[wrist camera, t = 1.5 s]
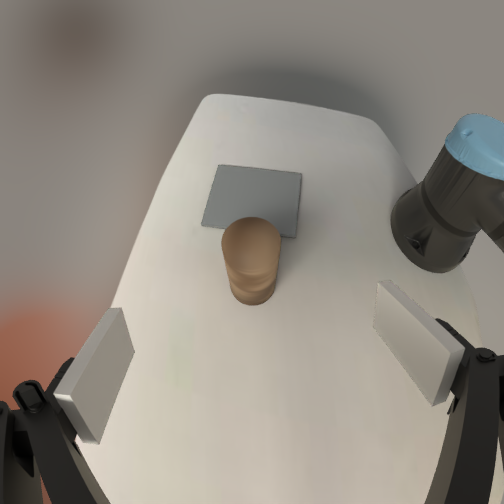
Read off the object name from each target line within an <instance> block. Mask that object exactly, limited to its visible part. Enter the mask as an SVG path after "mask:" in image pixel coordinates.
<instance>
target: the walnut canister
mask: <svg viewBox="0 0 504 504" xmlns="http://www.w3.org/2000/svg"><path fill="white" fill-rule="evenodd" d="M280 249H281V238H280V234H279V232H278V230H277V229H276V228H275V226H274V225H273V224H271V223H270V222H268V221H267V220H265V219H262V218H258V217H245V218H241V219H238V220H236V221H235V222H233V223H232V224H230V225H229V226H228V227H227V229H226V230H225V232H224V234H223V237H222V251H223V255H224V260H225V264H226V269H227V273H228V278H229V282H230V287H231V291H232V293H233V295H234V297H235V298H236V299H237V300H238V301H240V302H241V303H243V304H246V305H259V304H262V303H264V302H266V301H267V300H268V299H269V298H270V297H271V296H272V294H273V292H274V288H275V282H276V276H277V269H278V262H279V256H280Z"/></svg>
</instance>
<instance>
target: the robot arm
mask: <svg viewBox="0 0 504 504" xmlns="http://www.w3.org/2000/svg"><path fill="white" fill-rule="evenodd" d="M391 228H392V232H393V235H394V238H395V240H396V242H397V244H398V246H399V248H400V249H401V250H402V252H403V253H404V254H405V255H406V257H407V258H408V259H409V260H411V261H412V262H413V263H414V264H416V265H417V266H419V267H420V268H422V269H424V270H427V271H430V272H434V273H445V272H448V271H451V270H453V269H454V268H455V267H457V266H458V265H459V264H460V263H461V262H462V261H463V260H464V259H465V258H466V256H467V254H468V252H469V249H470V246H471V245H472V243H473V240H474V238H475V236H476V234H477V233H478V232H479V231H480V230H481V229H482V230H483V231H484V232H485V233H486V234H487V235H488V236H489V237H490V238H491V239H492V240H493V241H494V242H495V244H496V245H497V246H498V247H499V248H500V249H501V250H502V251H503V252H504V123H502V122H501V121H499V120H496V119H495V118H493V117H490V116H487V115H482V114H477V113H476V114H475V113H473V114H467V115H465V116H463V117H462V118H460V120H459V121H458V122H457V124H456V125H455V127H454V129H453V130H452V132H451V133H449V134H448V135H447V137H446V140H445V144H444V146H443V148H442V150H441V152H440V153H439V155H438V157H437V158H436V160H435V162H434V163H433V165H432V167H431V169H430V170H429V172H428V173H427V175H426V176H425V178H424V180H423V181H422V182H420V183H419V184H418V185H417V186H416V187H414V188H413V189H410V190H408V191H407V192H405V193H404V194H403V195H402V196H401V197H400V198H399V200H398V202H397V203H396V205H395V207H394V208H393V211H392V215H391ZM373 328H374V329H375V330H376V332H377V333H378V334H379V336H380V337H381V338H382V339H383V341H384V342H385V343H386V345H387V346H388V347H389V349H390V350H391V351H392V353H393V354H394V355H395V357H396V358H397V359H398V361H399V362H400V363H401V365H402V366H403V367H404V369H405V370H406V372H407V373H408V374H409V376H410V377H411V378H412V380H413V381H414V382H415V384H416V385H417V387H418V388H419V389H420V391H421V392H422V394H423V395H424V396H425V398H426V399H427V401H428V402H429V403H430V405H431V406H434V405H437V404H440V403H442V402H445V401H446V400H447V397H448V395H449V392H450V390H451V392H452V393H453V394H454V395H455V396H454V399H453V401H452V403H451V406H450V408H449V410H448V412H447V414H450V416H449V421H448V426H447V430H446V435H445V439H444V443H443V447H442V451H441V454H440V458H439V461H438V465H437V468H436V472H435V475H434V478H433V481H432V484H431V487H430V490H429V493H428V496H427V498H426V501H425V504H488V502H489V497H490V492H491V487H492V481H493V475H494V468H495V461H496V452H497V442H498V437H499V443H500V449H501V455H502V462H503V470H504V355H500V356H497V355H496V354H495V353H494V352H493V351H491V350H490V349H487V348H476V349H475V348H474V347H473V346H472V345H471V344H470V343H469V342H468V341H467V340H466V339H465V338H464V337H463V336H461V335H460V334H459V333H458V332H457V331H456V330H454V328H453V327H451V326H450V325H449V324H448V323H447V322H445V321H443V320H441V319H439V318H437V319H434V318H433V317H432V316H430V315H429V314H428V313H427V312H426V311H425V310H424V309H423V308H422V307H420V306H419V305H418V304H417V303H416V302H415V301H414V300H413V299H411V298H410V297H409V296H408V295H407V294H406V293H405V292H403V291H402V290H401V289H400V288H399V287H398V286H397V285H395V284H394V283H393V282H392V281H391V280H388V281H381V282H378V285H377V296H376V306H375V315H374V324H373ZM134 353H135V351H134V348H133V345H132V342H131V338H130V335H129V332H128V328H127V325H126V321H125V318H124V314H123V311H122V308H108V310H107V311H106V313H105V314H104V316H103V317H102V318H101V320H100V321H99V323H98V324H97V326H96V327H95V329H94V330H93V332H92V333H91V335H90V336H89V338H88V339H87V341H86V342H85V344H84V345H83V347H82V348H81V350H80V351H79V353H78V354H77V356H76V357H75V358H70V359H68V360H67V361H66V362H65V363H63V365H62V366H61V368H60V369H59V371H58V373H57V374H56V375H55V378H54V379H53V380H52V382H51V383H50V385H49V386H48V388H47V390H46V391H45V392H44V390H43V389H42V387H41V385H40V383H39V382H37V381H35V380H28V381H24V382H22V383H21V384H19V385H18V386H17V387H16V388H15V390H14V391H13V398H14V399H15V401H16V402H17V404H18V406H19V407H20V409H19V410H11V409H10V408H9V406H8V405H7V403H6V402H3V401H0V504H43V498H42V489H41V479H40V474H41V477H42V480H43V483H44V485H45V488H46V490H47V493H48V495H49V498H50V500H51V502H52V504H110V502H109V500H108V499H107V497H106V496H105V494H104V492H103V491H102V489H101V487H100V486H99V484H98V482H97V481H96V479H95V477H94V475H93V474H92V472H91V470H90V468H89V466H88V465H87V463H86V461H85V459H84V457H83V455H82V453H81V451H80V449H79V447H78V445H77V444H76V442H75V441H74V440H75V437H76V435H77V434H78V436H79V437H80V439H81V440H82V442H83V443H89V444H96V445H99V444H100V441H101V438H102V435H103V433H104V430H105V427H106V424H107V422H108V419H109V416H110V413H111V411H112V408H113V405H114V403H115V400H116V398H117V395H118V392H119V390H120V387H121V385H122V382H123V380H124V377H125V375H126V372H127V370H128V367H129V365H130V362H131V360H132V358H133V355H134Z"/></svg>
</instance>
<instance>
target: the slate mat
mask: <svg viewBox="0 0 504 504" xmlns="http://www.w3.org/2000/svg"><path fill="white" fill-rule="evenodd" d="M300 181H301V174H298V173H290V172H283V171H274V170H266V169H257V168H247V167H237V166H226V165H218V168H217V171H216V174H215V178H214V181H213V184H212V188H211V191H210V194H209V198H208V201H207V205H206V208H205V212H204V215H203V219H202V223H201V225H202V226H205V227H213V228H222V229H227V227H228V226H229V225H230V224H232V223H233V222H235V221H236V220H238V219H241V218H245V217H258V218H262V219H265V220H267V221H268V222H270V223H271V224H273V225H274V226H275V228H276V229H277V230H278V232H279V234H280V236H284V237H292V238H295V236H296V226H297V215H298V204H299V193H300Z"/></svg>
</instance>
